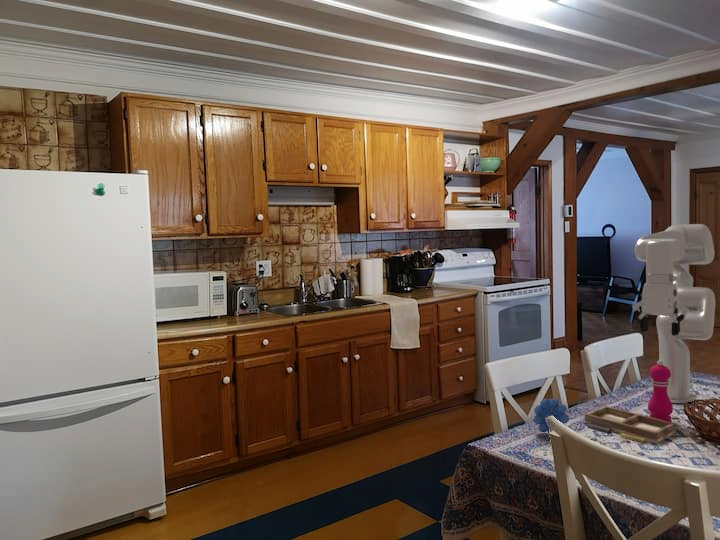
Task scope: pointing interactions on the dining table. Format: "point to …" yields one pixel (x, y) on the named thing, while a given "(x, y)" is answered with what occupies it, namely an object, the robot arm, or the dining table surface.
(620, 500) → the dining table surface
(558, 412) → the grapes
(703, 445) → the dining table surface
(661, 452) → the dining table surface
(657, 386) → the pepper mill
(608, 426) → the board
